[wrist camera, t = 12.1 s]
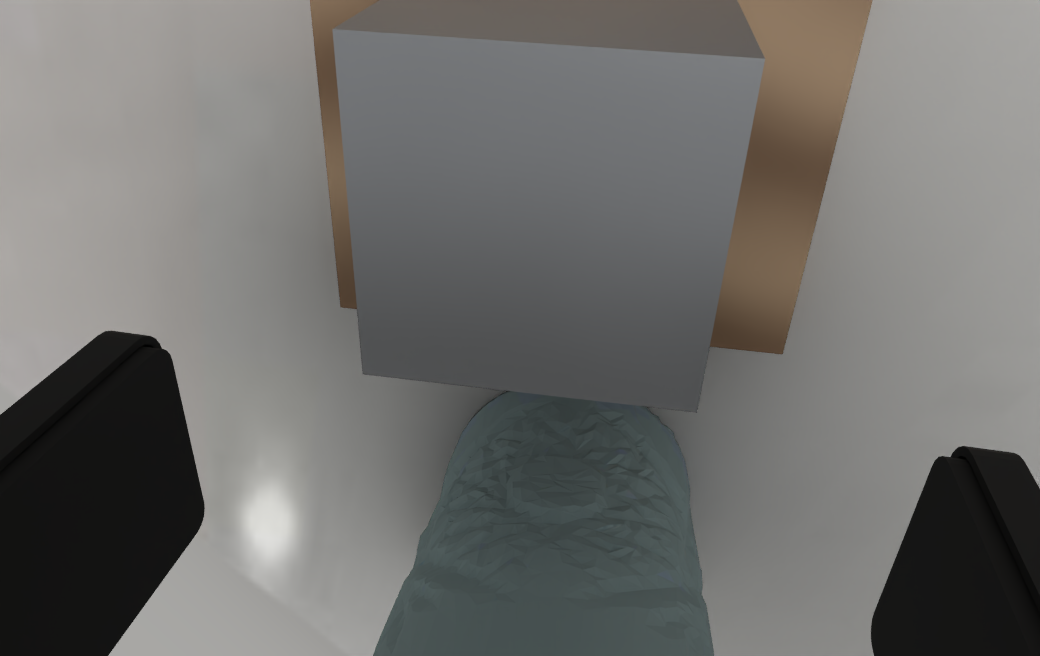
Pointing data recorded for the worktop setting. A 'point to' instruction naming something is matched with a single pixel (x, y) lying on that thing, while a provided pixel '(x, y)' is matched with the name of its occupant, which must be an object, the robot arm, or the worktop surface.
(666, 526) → the teal textured cup
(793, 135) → the walnut pad
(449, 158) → the matte grey cuboid
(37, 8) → the worktop surface
